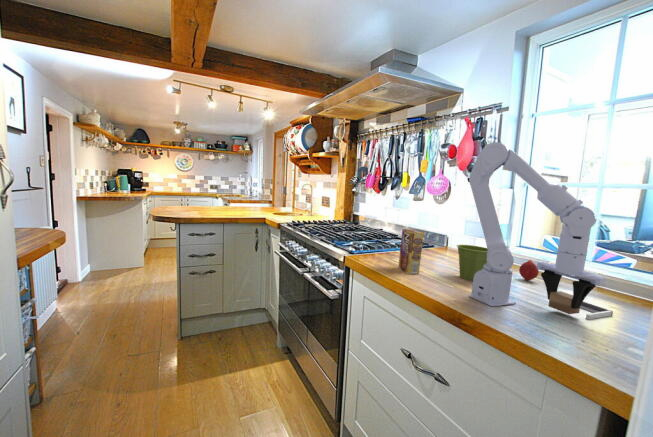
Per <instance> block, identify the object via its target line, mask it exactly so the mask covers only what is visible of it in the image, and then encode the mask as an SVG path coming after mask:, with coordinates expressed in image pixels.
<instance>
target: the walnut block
mask: <svg viewBox="0 0 653 437" xmlns="http://www.w3.org/2000/svg"><path fill="white" fill-rule="evenodd" d="M572 300H573V294H572V293H571V294H570V293H568V292H564V291H561V290H557V291H556V292H551V293H550V299H549V301H548V304H547V306H548V307H549V308H552V309H554V310H557V311H560V312H562V313H564V314H568V315H574V314H579V313H580V310H581V309H580V308H579V309H573V308H572Z"/></svg>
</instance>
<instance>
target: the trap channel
mask: <svg viewBox="0 0 653 437" xmlns="http://www.w3.org/2000/svg"><path fill="white" fill-rule="evenodd" d="M580 310H583V311H587V312H588V313H586V314H585V319H586V320H594V319H599V318H606V317H612V316H613V313H614V311H613V310H610V309H608V308H604V307H601V306H598V305H595V304H593V303H589V302H586V301H583V302H582V304H581V306H580ZM589 312H590V313H589Z"/></svg>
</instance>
